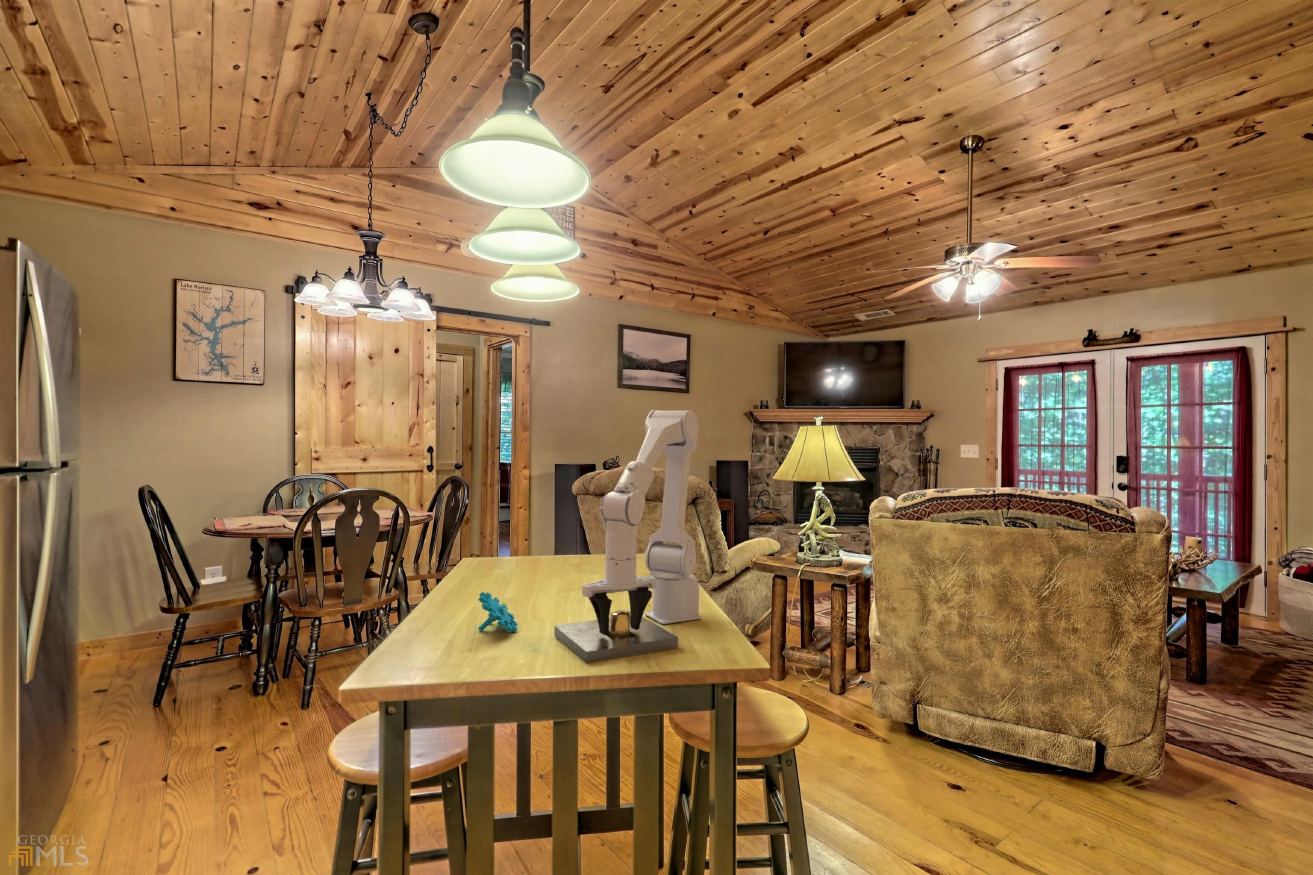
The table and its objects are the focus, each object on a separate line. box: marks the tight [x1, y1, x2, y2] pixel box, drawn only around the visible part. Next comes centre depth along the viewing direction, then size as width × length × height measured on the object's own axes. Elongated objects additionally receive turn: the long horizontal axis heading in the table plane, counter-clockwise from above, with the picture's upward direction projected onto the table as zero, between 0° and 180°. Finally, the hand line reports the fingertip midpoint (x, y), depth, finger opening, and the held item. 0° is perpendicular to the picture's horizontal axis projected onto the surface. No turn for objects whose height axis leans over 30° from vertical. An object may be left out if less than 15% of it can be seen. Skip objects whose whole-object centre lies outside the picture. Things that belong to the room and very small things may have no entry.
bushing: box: [609, 609, 630, 640], centre depth 117 cm, size 4×4×6 cm
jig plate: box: [553, 616, 679, 664], centre depth 118 cm, size 18×16×2 cm
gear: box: [477, 591, 519, 633], centre depth 124 cm, size 11×6×10 cm
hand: (619, 630), depth 116 cm, fingers open, 6 cm apart
